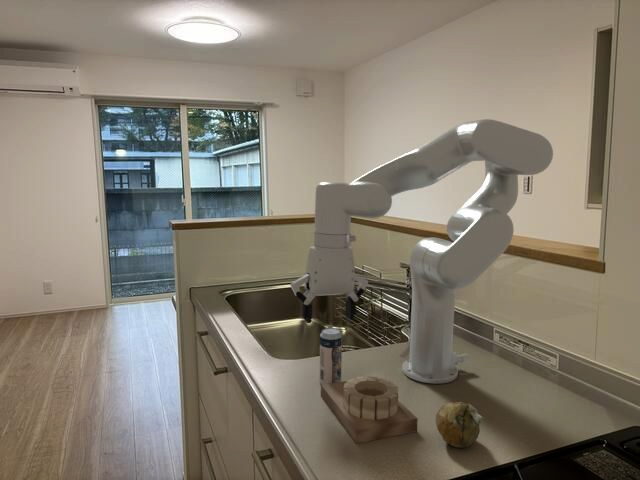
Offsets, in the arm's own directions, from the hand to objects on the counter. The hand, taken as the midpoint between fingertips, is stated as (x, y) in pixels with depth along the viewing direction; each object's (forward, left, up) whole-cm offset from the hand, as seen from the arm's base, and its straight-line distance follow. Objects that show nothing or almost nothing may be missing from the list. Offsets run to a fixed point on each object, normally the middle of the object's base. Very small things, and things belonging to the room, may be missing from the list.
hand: (328, 319), depth 102 cm
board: (-3, +14, -15) cm, 20 cm away
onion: (-14, +28, -15) cm, 35 cm away
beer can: (-1, 0, -15) cm, 15 cm away
